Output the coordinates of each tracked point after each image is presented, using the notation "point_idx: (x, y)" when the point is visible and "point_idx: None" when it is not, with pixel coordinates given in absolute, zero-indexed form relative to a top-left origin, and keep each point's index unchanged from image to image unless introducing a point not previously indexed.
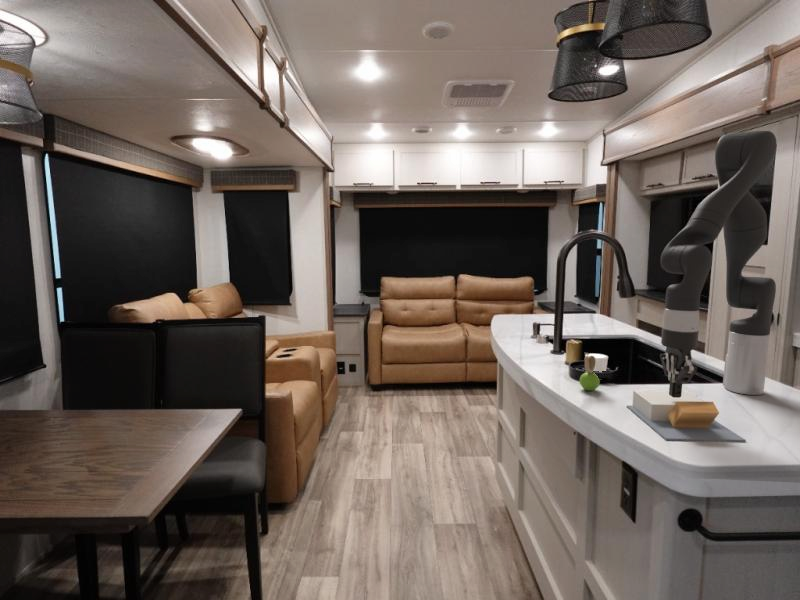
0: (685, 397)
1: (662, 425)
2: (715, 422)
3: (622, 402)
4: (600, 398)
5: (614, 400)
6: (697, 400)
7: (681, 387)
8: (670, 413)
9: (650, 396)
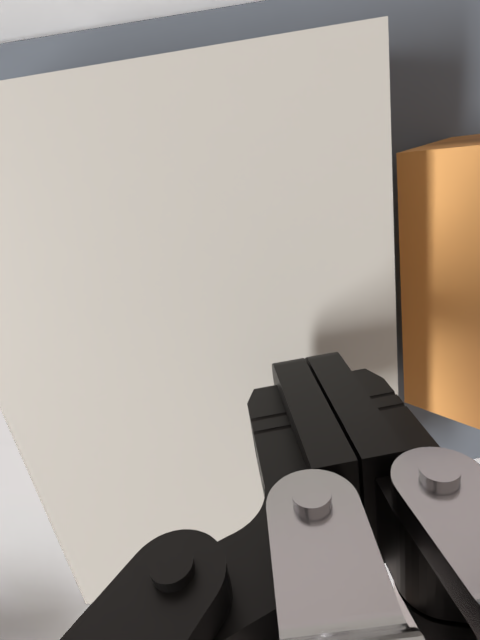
0: (158, 233)
1: (426, 411)
2: (341, 17)
3: (35, 533)
4: (6, 624)
5: (12, 567)
6: (235, 129)
7: (426, 433)
8: (455, 414)
9: (209, 518)
